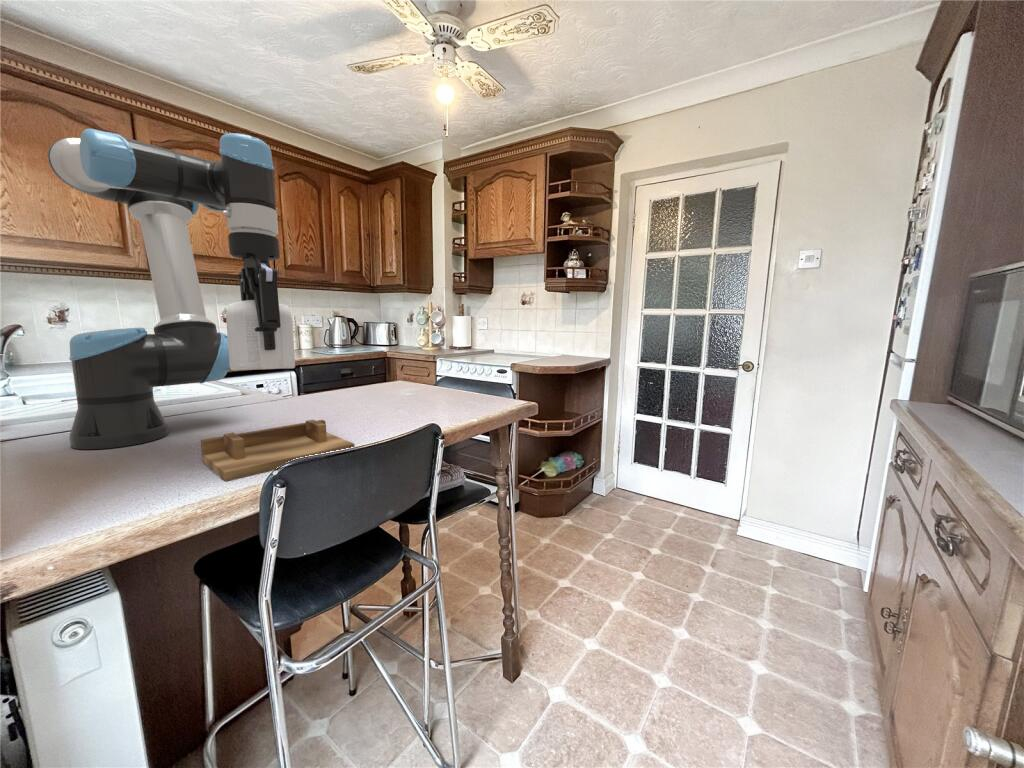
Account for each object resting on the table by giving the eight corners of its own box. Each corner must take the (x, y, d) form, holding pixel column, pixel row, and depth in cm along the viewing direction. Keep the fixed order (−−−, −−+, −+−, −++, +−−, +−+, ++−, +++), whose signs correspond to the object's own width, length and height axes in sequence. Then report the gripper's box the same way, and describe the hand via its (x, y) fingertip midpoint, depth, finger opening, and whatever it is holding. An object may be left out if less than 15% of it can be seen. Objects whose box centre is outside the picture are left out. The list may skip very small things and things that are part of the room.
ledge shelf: (202, 461, 75) (199, 434, 75) (323, 437, 92) (322, 415, 91) (225, 481, 66) (222, 451, 66) (354, 450, 83) (353, 426, 82)
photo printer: (294, 366, 80) (289, 301, 78) (297, 368, 76) (292, 300, 75) (230, 369, 74) (223, 299, 73) (229, 371, 71) (223, 298, 69)
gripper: (215, 238, 76) (227, 365, 79) (243, 222, 63) (256, 373, 67) (261, 244, 81) (270, 362, 84) (295, 230, 69) (305, 369, 72)
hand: (264, 367), depth 75 cm, fingers closed on photo printer, 5 cm apart
